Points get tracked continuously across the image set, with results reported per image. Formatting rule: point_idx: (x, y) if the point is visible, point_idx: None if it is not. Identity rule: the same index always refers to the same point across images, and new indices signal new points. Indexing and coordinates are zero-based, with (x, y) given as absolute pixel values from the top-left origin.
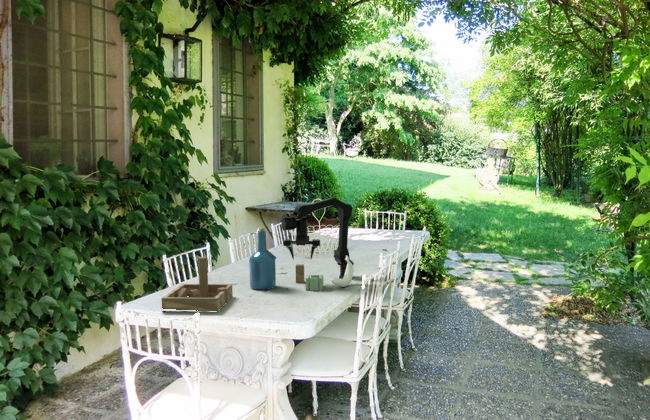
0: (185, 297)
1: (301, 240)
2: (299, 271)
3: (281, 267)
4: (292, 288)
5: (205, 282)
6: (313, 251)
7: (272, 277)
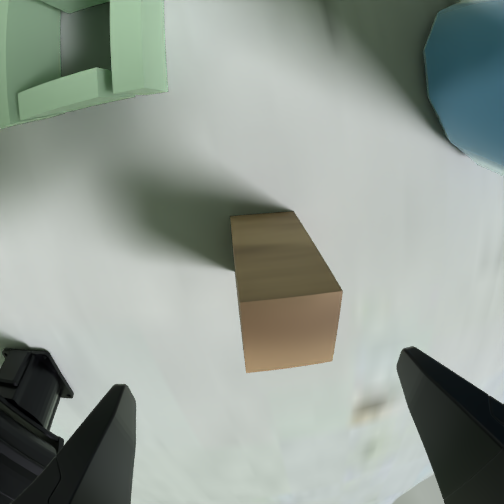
0: None
1: None
2: (279, 259)
3: (369, 456)
4: (289, 21)
5: None
6: (36, 483)
7: (481, 11)
